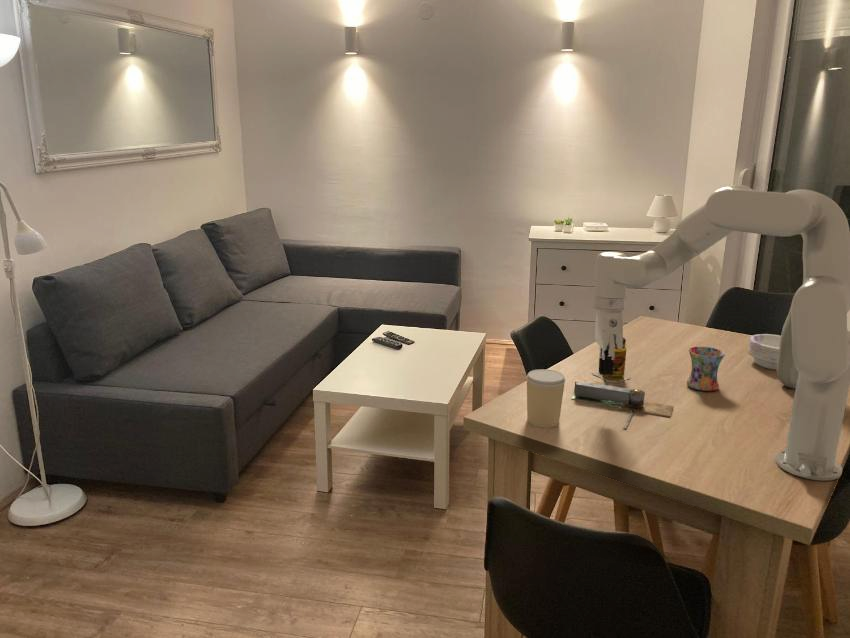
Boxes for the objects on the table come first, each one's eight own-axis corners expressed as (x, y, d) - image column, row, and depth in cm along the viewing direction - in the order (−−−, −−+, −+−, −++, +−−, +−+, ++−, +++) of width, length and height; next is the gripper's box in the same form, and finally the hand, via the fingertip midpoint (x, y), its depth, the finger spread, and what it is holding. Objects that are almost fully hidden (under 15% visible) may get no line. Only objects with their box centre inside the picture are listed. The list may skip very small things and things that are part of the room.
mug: (714, 396, 190) (719, 359, 187) (679, 388, 195) (684, 352, 192) (726, 384, 199) (731, 348, 196) (693, 376, 204) (698, 342, 201)
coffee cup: (567, 418, 174) (571, 373, 171) (554, 432, 166) (557, 384, 163) (532, 410, 179) (535, 366, 175) (518, 423, 171) (520, 377, 168)
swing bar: (644, 402, 183) (645, 388, 182) (642, 407, 179) (643, 394, 178) (577, 391, 190) (578, 378, 189) (574, 396, 186) (575, 383, 185)
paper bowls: (808, 375, 207) (813, 350, 205) (754, 372, 209) (758, 346, 207) (791, 359, 221) (795, 335, 219) (740, 356, 223) (743, 332, 221)
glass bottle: (817, 395, 191) (834, 296, 184) (775, 390, 194) (791, 292, 187) (810, 383, 200) (827, 288, 193) (771, 378, 203) (786, 284, 196)
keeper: (623, 408, 181) (624, 396, 180) (569, 398, 186) (570, 387, 186) (628, 398, 188) (629, 386, 187) (576, 389, 193) (577, 378, 192)
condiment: (612, 383, 198) (616, 343, 195) (591, 374, 205) (594, 335, 202) (631, 378, 202) (634, 339, 199) (609, 370, 209) (612, 331, 206)
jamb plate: (663, 436, 164) (663, 435, 164) (611, 427, 169) (612, 425, 169) (673, 407, 182) (673, 406, 181) (625, 399, 186) (626, 398, 186)
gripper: (632, 309, 165) (628, 383, 169) (617, 296, 179) (613, 364, 184) (600, 310, 165) (597, 383, 169) (587, 296, 179) (584, 364, 184)
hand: (605, 373), depth 176 cm, fingers closed
